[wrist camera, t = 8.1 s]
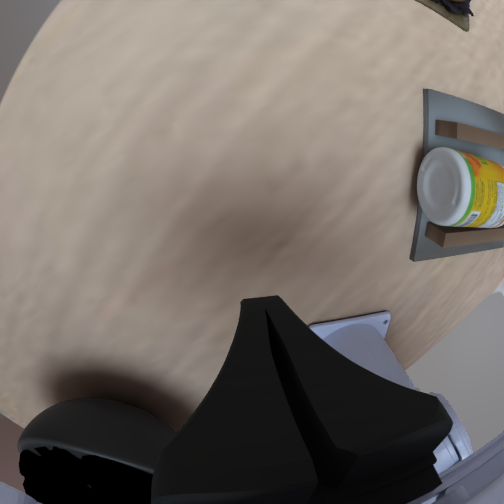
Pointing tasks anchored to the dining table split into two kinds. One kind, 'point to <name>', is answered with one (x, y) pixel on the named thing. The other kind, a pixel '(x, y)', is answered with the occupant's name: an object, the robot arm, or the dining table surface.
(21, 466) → the bowl of black rocks
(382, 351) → the robot arm
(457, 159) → the supplement bottle
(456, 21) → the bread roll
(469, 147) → the cradle
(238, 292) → the dining table surface
